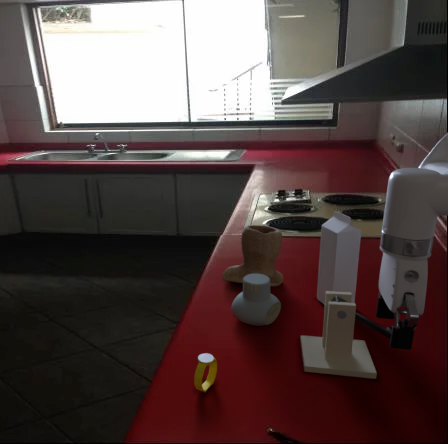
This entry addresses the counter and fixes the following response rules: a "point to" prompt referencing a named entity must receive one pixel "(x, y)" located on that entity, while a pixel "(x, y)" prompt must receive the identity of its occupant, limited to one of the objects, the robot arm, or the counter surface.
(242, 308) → the air freshener
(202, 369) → the watch
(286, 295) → the counter surface
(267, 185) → the counter surface
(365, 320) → the lever
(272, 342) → the counter surface
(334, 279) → the milk
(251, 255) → the tan boot
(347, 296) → the cream lever stand
